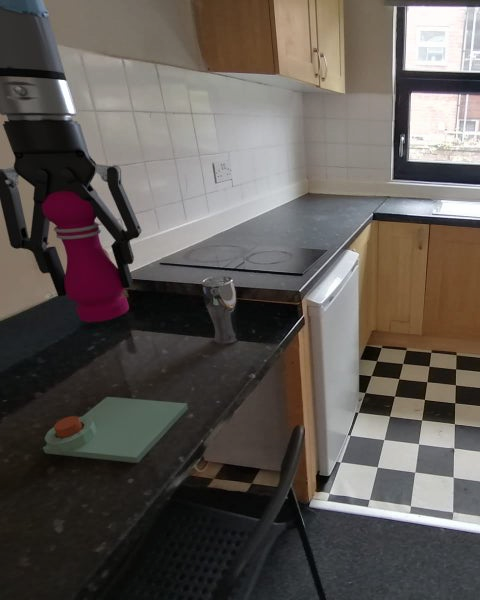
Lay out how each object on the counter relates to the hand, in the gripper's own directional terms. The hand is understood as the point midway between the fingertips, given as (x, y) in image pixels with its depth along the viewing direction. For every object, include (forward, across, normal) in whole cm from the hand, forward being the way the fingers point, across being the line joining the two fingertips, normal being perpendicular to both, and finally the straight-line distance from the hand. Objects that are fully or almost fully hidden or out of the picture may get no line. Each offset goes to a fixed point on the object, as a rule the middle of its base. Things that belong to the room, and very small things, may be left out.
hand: (97, 288), depth 59 cm
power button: (+23, -9, -1) cm, 25 cm away
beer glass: (+26, +15, +27) cm, 40 cm away
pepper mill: (+4, 0, 0) cm, 4 cm away
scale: (+26, -3, 0) cm, 26 cm away
